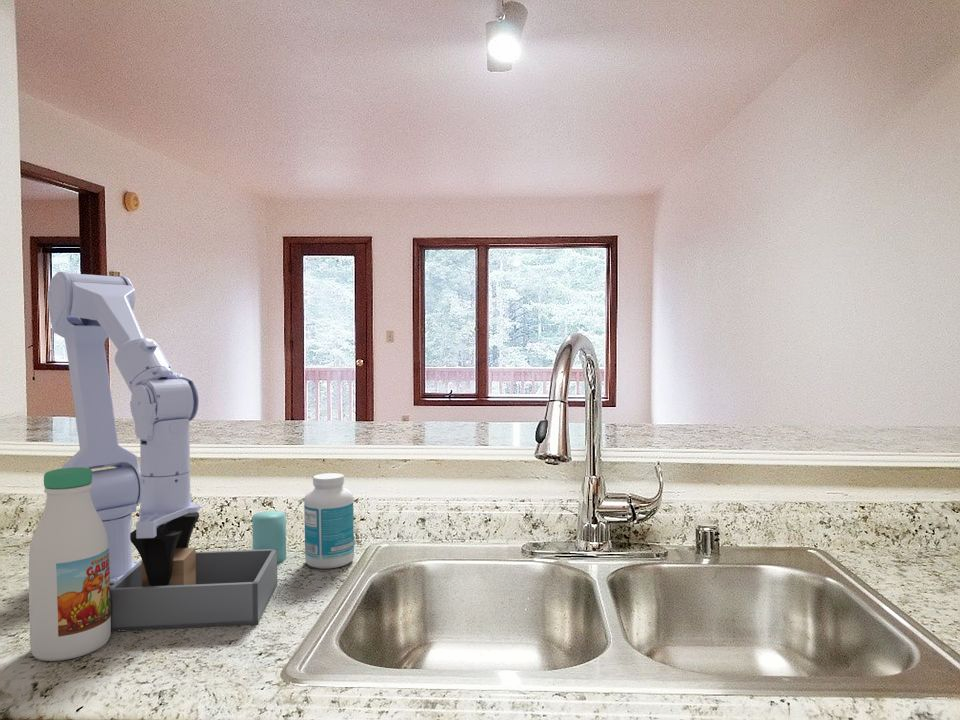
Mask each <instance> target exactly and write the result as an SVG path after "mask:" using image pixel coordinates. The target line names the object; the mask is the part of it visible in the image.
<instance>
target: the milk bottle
mask: <svg viewBox="0 0 960 720" xmlns="http://www.w3.org/2000/svg"><path fill="white" fill-rule="evenodd" d="M92 471H93V469H89V468H83V467H74V468H63V469H61V468H57V469H52V470H49V471H47V472H46V471H45V473H44V474H43V486H44V489H43V490H44V491H43V493H44V494H46V501H45V505H44V510H43V512H42V515H41V517H40V519H39V521H38V523H37V525H36V528H35V529H34V532H33V534H32V536H31V541H30V544H29V545H30V546H29V552H28V605H29V606H28V609H29V610H28V611H29V644H30V645H29V646H30V653H31V655H32V657H33V658H35V659H36V660H38V661H39V660H40V661H46V662H56V661H59V662H60V661H66V660H72V659H76V658H79V657H82V656H85V655H88V654H91V653H94V652H95V651H97V650H99V649H101V648H103V646H105V645H106V644H107V643H108V641H109V639H110V637H111V634H112V633H111V610H110V587H111V583H110V567H109V546H108V537H107V533H106V529H105V527H104V524H103V522H102V520H101V519H100V517H99V515H98V513H97V512H96V510H95V508H94V505H93V502H92V500H91V496H90V489H91V488H92Z"/></svg>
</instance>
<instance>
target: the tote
mask: <svg viewBox="0 0 960 720" xmlns="http://www.w3.org/2000/svg"><path fill="white" fill-rule="evenodd" d="M139 561H140V562H138V563H137V564H136V565H135V566H134V567H133V568H132V569H130V570H129V571H128V572H127V573H126V574H125V575H124V576H122V577H121V578H120V579H119V580H118V581H117V582H116V583H112V585H110V610H111V631H115V632H122V631H121V630H134V631H143V630H142V629H154V630H170V629H169V628H173V629H188V628H189V627H190V628H191V627H193V628H209V627H208V626H213V627H227V626H228V627H229V626H231V627H232V626H248V625H249V626H250V625H251V626H253V625H259V622H260V621H261V619H262V617H263V615H264V613H265V610H266V608H267V606H268V604H269V603H270V600H271V599H272V597H273V594H274V592H275V590H276V588H277V585H278V563H277V549H261V550H253V549H237V550H212V551H196V584H195V585H172V586H149V587H142V563H141V562H142V559H141V560H139ZM167 628H168V629H167ZM190 628H189V629H190ZM119 630H120V631H119Z"/></svg>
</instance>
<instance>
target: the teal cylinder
mask: <svg viewBox="0 0 960 720" xmlns="http://www.w3.org/2000/svg"><path fill="white" fill-rule="evenodd" d="M286 515H287V514H286V513H285V512H284V511H279V510H267V511H260V512H257V513H254V514H253V515H252V516H251V517H252V518H251V519H252V522H251V523H252V532H251V533H252V550H261V549H277V564H279V562H280V563H283V562H284V561H285V560H286V559H287V531H286V530H287V516H286Z"/></svg>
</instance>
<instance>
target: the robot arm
mask: <svg viewBox="0 0 960 720" xmlns="http://www.w3.org/2000/svg"><path fill="white" fill-rule="evenodd" d="M134 287H135V286H134V285H133V283H132V281H131V280H130V279H129V278H128V277H127V276H125V275H118V276H113V275H100V274H99V275H98V274H86V273H83V274H82V273H74V272H73V273H71V272H70V273H69V272H68V273H67V272H66V271H57V272H56V273H55V274H54V275H53V276H52V278H51V279H50V282H49V287H48V292H47V304H48V311H49V318H50V324H51V328H52V333H54V334H56V335H58V336H60V337H61V338H64V342H65V349H66V355H67V362H68V369H69V370H68V371H69V376H70V383H71V392H72V401H73V407H74V415H75V423H76V430H77V431H76V432H77V437H78V445H79V450H78V451H77V452H76V453H75V454H73V456H71V457H70V458H69V459H68V460H67V461H65V463H64V464H63V465H62V466H61V468H60V469H63V468H74V467H83V468H89V469H91V470H92V488H91V489H90V496H91V500H92V502H93V505H94V508H95V510H96V512H97V513H98V515H99V517H100V519H101V520H102V522H103V524H104V527H105V529H106V533H107V537H108V546H109V567H110V584H114V583H116V582H117V581H118V580H119V579H120V578H121V577H122V576H124V575H125V574H126V573H127V572H128V571H129V570H130V569H132V568H133V567H134V566H135V565H136V564H137V563H138V562H140V561H141V560H142V561H143V564H144V567H145V570H146V574H147V578H148V581H149V584H150V586H167V585H168V584H169V582H170V578H171V573H172V565H173V557H174V552H175V548H189V545H190V539H191V536H192V533H193V531H194V528H195V525H196V524H197V522H198V521H199V517H200V513H199V511H200V510H201V504H200V503H193V502H192V500H193V498H192V495H193V494H192V493H191V453H190V452H191V450H190V449H191V448H190V446H191V445H190V444H191V443H190V442H191V441H190V434H191V433H190V422H191V421H192V420H194V419H195V418H196V416H197V413H198V411H199V394H198V393H199V392H198V389H197V387H196V385H195V383H194V380H193V379H192V378H191V377H188V376H184V375H183V374H182V373H177V372H175V370H174V368H173V366H172V365H171V362H169V360H168V358H167V356H166V354H165V353H164V351H163V350H162V348H161V345H159V344H158V343H157V341H155V340H154V339H151V338H148V337H147V338H146V337H145V335H144V333H143V331H142V329H141V326H140V324H139V321H138V319H137V317H136V314H135V313H134V308H135V304H136V303H135V302H136V291H135V288H134ZM108 338H109V339H110V340H111V342H112V343H113V345H114V346H115V348H116V349H117V351H116V353H115V355H114V363H115V365H116V367H117V369H118V370H119V372H120V374H121V377H122V378H123V379H124V382H125V383H126V385H127V387H128V389H129V391H130V393H131V396H130V398H131V399H130V402H129V403H130V404H129V405H130V406H129V407H130V413H131V416H132V418H133V421H134V429H135V430H134V431H135V433H134V434H136V435H135V436H136V439H139V442H140V443H139V444H140V447H139V448H140V449H139V450H140V453H139V454H140V463H139V459H138V455H136V454H135V453H133V452H132V451H130V450H128V449H126V448H124V447H123V446H121V445H120V444H119V440H118V433H117V425H116V419H115V412H114V405H113V397H112V390H111V383H110V375H109V370H108V369H109V368H108V367H109V366H108V361H107V355H106V347H105V342H106V340H107V339H108ZM108 467H110V468H108ZM111 467H113V468H111ZM102 468H106V469H102ZM97 469H99V470H97ZM100 469H101V470H100ZM139 505H140V508H139V513H138V515H139V516H138V517H139V518H138V520H137V521H136V522H135V529H134V530H133V516H132V515H133V513H137V507H138V506H139ZM133 546H134V547H135V549H136V550H137V552H138V555H139V556H140V558H141V560H139V561H137V560H136V561H133Z"/></svg>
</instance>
